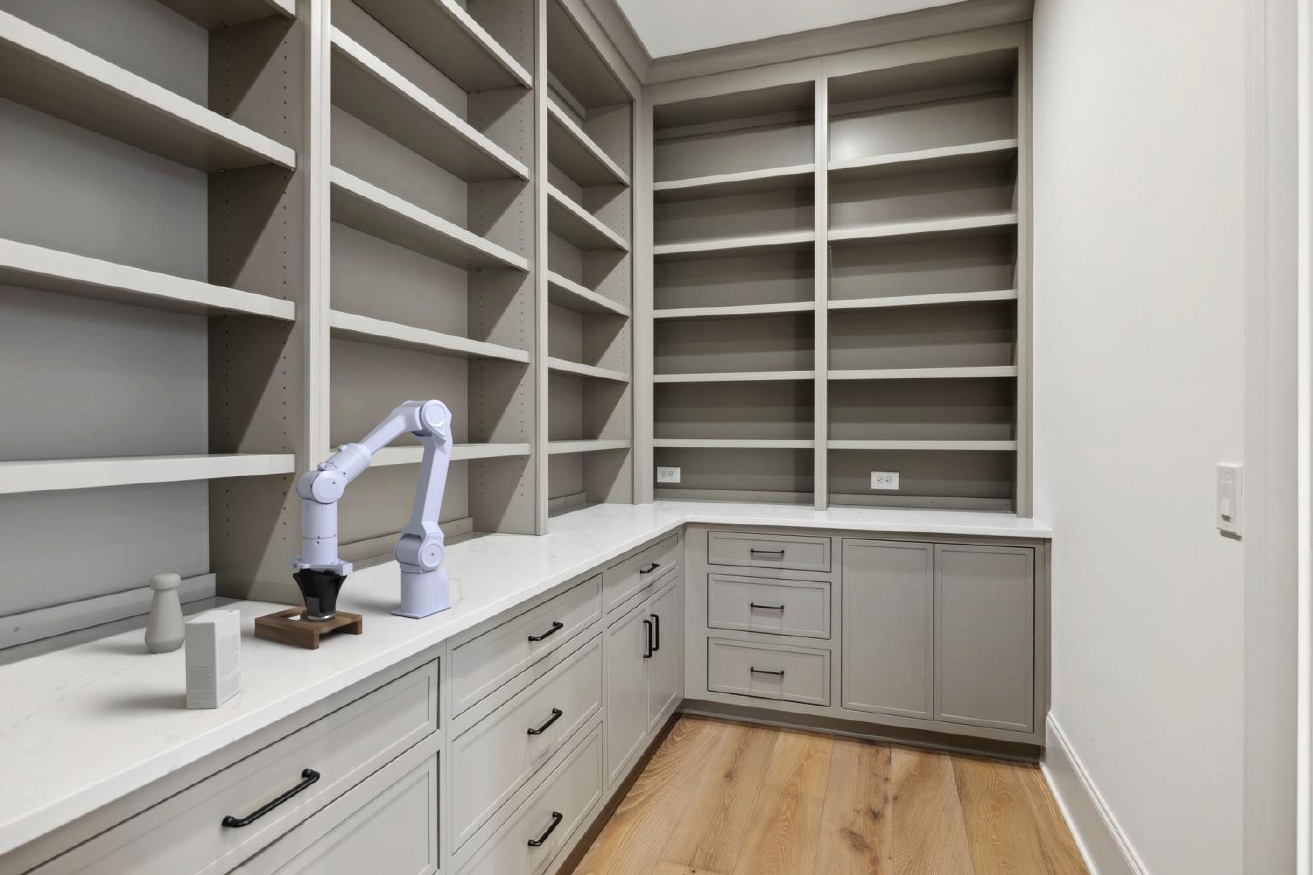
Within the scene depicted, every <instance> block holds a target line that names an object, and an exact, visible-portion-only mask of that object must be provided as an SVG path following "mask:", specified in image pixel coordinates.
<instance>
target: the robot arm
mask: <svg viewBox="0 0 1313 875" xmlns="http://www.w3.org/2000/svg"><path fill="white" fill-rule="evenodd" d="M451 421H452V413H451V411H450V410H449V408H448V407H447V406H446V405H445V403H443V401H441V400H438V399H429V400H406V401H404V402H403V403H401V404H400V405H399V406H398V407H396V408H393V410H392V411H391V413H389V415H388V416H387V417H386V418H385V419H383V420H382V421H381V422H380V423H379V424H377V425H376V427H374V428H373V430H371V431H370V432H369V433H368V434H367V435H366V436H365V437H363V438H362V440H360V441H359V442H358V443H355V442H349V443H347V444H340V445H339V446H337V447H336V450H337V451H336V452H335V453H334V454H333V455H331V456H330V457H329V458H327V460H326V461H324V462H322V461H321V462H319V463H318V464H316V467H317V468H316V470H309V471H307V472H305V473H304V474H302V475H301V477H300V478H299V479H298V480H299V481H298V482H297V485H296V486H294V490H295V493H296V495H297V496H298V498H300V500H301V540H302V541H301V543H302V549H301V550H302V553H301V554H302V555H297V556H292V557H289V558H288V567H289V569H299V571H297V572H294V573H292V579H293V580H294V581H295V583H296V584H297V586H298V588H299V590H300V591H301V595H302V597H303V598H302V599H303V601H304V605H306V609H307V596H311V595H315V594H319V598H320V608H321V612H322V613H328V612H331V611H334V608H335V604H336V605H337V600H338V596H339V593H340V591H341V588H342V586H343V584H344V582H345V581H346V580H347V577H348V575H352V574H353V562H349V561H348V562H347V561H346V560H343V559H341V558H338V500H339V499H341V497H342V496H343V494H344V490H345V488H346V486H348V485H349V483H351V482H352V481H353V480H354V479H356V478H357V477H358V476H359V475H360V474H362V473H363V472H364V471H365V470H366V469H367V468H368V467H369V466H371V464H372V463H371V460H372V456H373V455H374V454H376V453H377V452H379V451H380V450H381V449H382V448H384V447H386V446H387V445H388V444H389V443H391V442H392V441H393V440H394V439H395V438H397V437H398V436H401V435H402V434H403V433H409V434H410V435H412V436H414V437H415V438H417V440H418V441H419V442H420V443H421V445H422V446H423V453H422V459H421V464H420V470H419V474H418V479H417V485H416V489H415V494H414V500H413V505H412V510H411V514H410V520H409V521H408V523H407V524H405V525H404V526H403V528H401V532H400V534H399V535H400V536H399V537H398V539H397V541H396V542H395V544H394V546H393V556H394V559H395V560H396V562H397V563H399V569H400V607H399V608H397V609H394V610H391V612H390V613H391V615H392V614H393V615H397V616H403V617H408V618H409V617H410V618H416V619H421V618H425V617H426V616H430V615H432V614H436V613H439V612H441V611H443V610H446V609H451V608H452V606H453V605H452V604H450V603H449V602H450V589H449V588H450V586H449V585H450V584H449V582H450V579H449V578H450V577H449V574H448V571H447V570H446V568H444V566H442V565H441V564H442V563H443V561H444V559H445V555H446V554H445V553H446V552H445V546H444V538H445V534H444V533H443V531H442V529H441V528H440V526H439V524H438V523H439V519H440V515H441V514H440V513H441V508H442V501H443V496H444V493H445V485H446V480H447V477H448V476H447V475H448V470H449V466H450V460H451V454H452V450H453V444H454V442H453V437H452V431H451Z"/></svg>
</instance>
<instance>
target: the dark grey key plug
mask: <svg viewBox="0 0 1313 875" xmlns="http://www.w3.org/2000/svg"><path fill="white" fill-rule="evenodd" d="M336 610H337V603H336V604H335V608H334V611H331V612H328V613H322V612H321V608H320V598H319V594H315V595H311V596H307V615H308V621H310V622H322V623H323V622H326V621H327V620H331V619H333V618H335V613H336ZM331 632H333V630H332V629H330V630H327V631H324V632H321V633H319V635H325V634H328V633H329V634H330V633H331Z"/></svg>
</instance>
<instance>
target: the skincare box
mask: <svg viewBox="0 0 1313 875" xmlns="http://www.w3.org/2000/svg"><path fill="white" fill-rule="evenodd" d="M184 624H185V639H184V642H185V643H184V645H185V651H184V652H185V692H186V693H185V696H186V700H185V701H186V709H187V710H196V709H197V710H198V709H200V710H201V709H218V708H219V707H220V706H221V705H223V704H224V703H226V702H228V701H229V700H230V699H232V698H233V697H234V696H235V695H238V693H240V692H241V691H242V652H241V651H242V650H241V649H242V648H241V647H242V646H241V642H242V641H241V610H240V609H221V610H219V609H217V610H216V609H215V610H209V611H207V612H205V613H204V614H201V615H199V616H197V617H195V618H193V619H191V620H188V621H186V622H184Z"/></svg>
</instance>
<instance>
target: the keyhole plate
mask: <svg viewBox="0 0 1313 875" xmlns="http://www.w3.org/2000/svg"><path fill="white" fill-rule="evenodd" d="M297 616H299V619H292V618H294V617H297ZM330 629H332V631H338V632H341V633H343V632H344V633H347V634H348V633H349V634H353V635H357V636H359V635H361V634H363V614H359V613H355V612H354V613H353V612H348V611H341V610H337V609H336V613H335V618H333V619H331V620H327V621H326V622H323V623H322V622H310V621H308V615H307V609H306V605H305V604H302V605H299V606H294V607H292V608H288V609H284V610H279V611H276V612H272V613H269V614H266V615H261V616H257V617H254V637H256V638H260V639H264V640H269V641H273V642H277V643H282V644H287V645H292V646H296V647H301V648H305V649H309V650H317V649H319V648H320V634H319V633H321V632H324V631H327V630H330Z"/></svg>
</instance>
